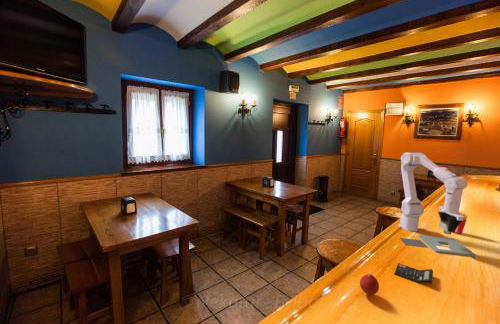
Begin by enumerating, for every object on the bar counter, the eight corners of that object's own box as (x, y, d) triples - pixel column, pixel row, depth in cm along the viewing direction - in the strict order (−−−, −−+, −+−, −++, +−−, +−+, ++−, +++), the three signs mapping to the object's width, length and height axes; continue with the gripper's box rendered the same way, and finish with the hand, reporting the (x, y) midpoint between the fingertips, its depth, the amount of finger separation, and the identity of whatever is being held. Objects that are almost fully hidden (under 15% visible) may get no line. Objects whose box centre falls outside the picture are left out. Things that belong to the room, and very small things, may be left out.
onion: (371, 288, 85) (374, 268, 84) (381, 300, 80) (384, 278, 78) (355, 288, 85) (358, 268, 84) (364, 300, 80) (366, 278, 78)
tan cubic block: (438, 230, 119) (439, 220, 118) (449, 231, 118) (451, 221, 117) (444, 234, 114) (446, 224, 113) (456, 235, 113) (458, 225, 112)
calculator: (398, 264, 102) (398, 258, 101) (432, 276, 94) (433, 269, 94) (394, 275, 94) (395, 268, 94) (430, 288, 87) (432, 281, 87)
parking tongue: (398, 239, 124) (398, 237, 124) (419, 241, 122) (420, 239, 122) (405, 247, 116) (405, 245, 116) (428, 249, 115) (428, 247, 115)
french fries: (444, 230, 138) (447, 210, 136) (446, 228, 140) (450, 209, 138) (463, 236, 131) (467, 215, 129) (465, 234, 133) (469, 213, 131)
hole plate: (418, 238, 126) (418, 234, 126) (452, 242, 123) (453, 238, 123) (435, 254, 111) (436, 249, 110) (475, 258, 108) (476, 254, 107)
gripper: (434, 196, 121) (430, 222, 123) (452, 206, 107) (447, 234, 109) (450, 198, 120) (445, 223, 122) (470, 207, 106) (465, 236, 108)
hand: (447, 229), depth 115 cm, fingers closed on tan cubic block, 5 cm apart
